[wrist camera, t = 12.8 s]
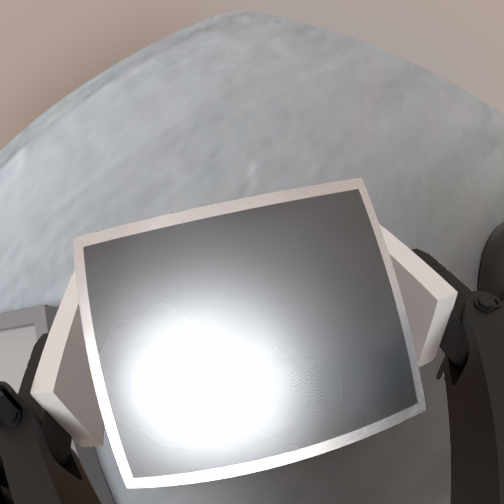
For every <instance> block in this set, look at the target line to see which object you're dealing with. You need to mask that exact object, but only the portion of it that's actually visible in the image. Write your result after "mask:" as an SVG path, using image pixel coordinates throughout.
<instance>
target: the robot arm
mask: <svg viewBox="0 0 504 504" xmlns="http://www.w3.org/2000/svg"><path fill="white" fill-rule="evenodd" d="M379 225H380V224H379ZM380 228H381V231H382V234H383V237H384V240H385V243H386V246H387V249H388V252H389V255H390V258H391V261H392V264H393V268H394V271H395V274H396V278H397V281H398V285H399V288H400V292H401V295H402V299H403V303H404V306H405V310H406V314H407V318H408V322H409V326H410V330H411V334H412V338H413V343H414V347H415V352H416V356H417V361H418V366H419V367H421V366H423V365H425V364H427V363H429V362H431V361H433V360H435V358H436V355H437V353H438V350H439V347H440V348H441V349H442V350H443V351H444V353H445V357H444V359H443V362H442V364H441V366H440V369H439V371H438V373H437V379H440V377H441V375H442V373H443V371H444V374H445V377H444V379H445V382H446V391H447V400H448V411H449V423H450V441H451V503H450V504H504V223H503V224H501V225H500V226H499V227H497V228H496V229H495V231H494V232H493V233H492V235H491V236H490V238H489V240H488V242H487V244H486V247H485V250H484V253H483V257H482V261H481V267H480V275H479V291H474V292H471V291H470V290H469V289H468V288H467V287H466V286H465V285H464V284H463V283H462V282H460V281H459V280H458V279H457V278H456V277H455V276H454V275H453V274H451V273H450V272H449V271H448V270H446V268H444V267H443V266H442V265H441V264H438V262H437V261H436V260H435V259H434V258H433V257H432V256H430V255H429V254H427V253H425V252H423V251H421V250H418V249H413V250H410V249H409V248H408V247H407V246H406V245H404V244H403V243H402V242H401V241H400V240H398V239H397V238H396V237H395V236H394V235H392V234H391V233H390V232H389V231H387V230H386V229H385V228H384V227H382V226H381V225H380ZM30 357H31V359H29V361H28V364H27V368H26V370H25V373H24V376H23V379H22V382H21V386H20V389H19V392H18V394H17V393H16V392H15V390H14V389H13V388H12V387H11V386H10V385H9V384H8V383H6V382H5V381H0V504H101V502H100V500H99V498H98V496H97V494H96V493H95V491H94V489H93V487H92V485H91V483H90V481H89V479H88V477H87V475H86V473H85V471H84V469H83V466H82V464H81V462H80V460H79V458H78V455H77V454H76V453H75V451H74V450H73V449H72V448H71V442H72V438H73V439H74V440H75V441H76V442H77V443H78V444H79V445H80V446H81V447H93V446H103V438H104V421H103V417H102V414H101V410H100V406H99V403H98V399H97V395H96V391H95V387H94V382H93V378H92V374H91V369H90V365H89V360H88V355H87V350H86V344H85V339H84V333H83V327H82V321H81V314H80V307H79V300H78V292H77V283H76V274H75V271H74V273H73V275H72V277H71V280H70V282H69V284H68V287H67V289H66V291H65V294H64V296H63V299H62V301H61V304H60V306H59V309H58V311H57V314H56V316H55V319H54V322H53V324H52V327H51V330H50V332H49V333H45V334H42V336H41V337H40V338H39V339H38V341H37V342H36V343H35V345H34V347H33V350H32V353H31V356H30Z"/></svg>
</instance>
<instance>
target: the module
mask: <svg viewBox="0 0 504 504" xmlns="http://www.w3.org/2000/svg"><path fill="white" fill-rule="evenodd" d="M73 250H74V263H75V274H76V283H77V292H78V300H79V307H80V314H81V321H82V327H83V333H84V339H85V344H86V350H87V355H88V360H89V365H90V369H91V374H92V378H93V382H94V387H95V391H96V395H97V399H98V403H99V406H100V410H101V414H102V417H103V421H104V424H105V427H106V431H107V434H108V437H109V440H110V443H111V447H112V450H113V453H114V456H115V458H116V461H117V464H118V467H119V470H120V472H121V475H122V478H123V480H124V483H125V485H126V488H127V489H133V488H151V487H164V486H175V485H184V484H192V483H199V482H206V481H212V480H218V479H224V478H230V477H235V476H240V475H245V474H249V473H254V472H258V471H263V470H267V469H271V468H275V467H279V466H283V465H286V464H290V463H293V462H297V461H300V460H304V459H307V458H310V457H313V456H317V455H320V454H323V453H326V452H329V451H332V450H335V449H337V448H340V447H343V446H346V445H348V444H351V443H354V442H356V441H359V440H361V439H364V438H366V437H369V436H371V435H374V434H376V433H378V432H381V431H383V430H385V429H388V428H390V427H392V426H394V425H397V424H399V423H401V422H403V421H405V420H407V419H409V418H411V417H413V416H415V415H417V414H419V413H421V412H423V411H425V410H426V404H425V398H424V392H423V387H422V381H421V376H420V371H419V366H418V361H417V356H416V352H415V347H414V343H413V338H412V334H411V330H410V326H409V322H408V318H407V314H406V310H405V306H404V303H403V299H402V295H401V292H400V288H399V285H398V281H397V278H396V274H395V271H394V268H393V264H392V261H391V258H390V255H389V252H388V249H387V246H386V243H385V240H384V237H383V234H382V231H381V228H380V225H379V222H378V219H377V217H376V214H375V211H374V208H373V206H372V203H371V200H370V198H369V195H368V192H367V190H366V187H365V185H364V182H363V180H362V178H356V179H349V180H343V181H337V182H330V183H324V184H318V185H312V186H306V187H301V188H295V189H289V190H284V191H278V192H273V193H268V194H262V195H257V196H252V197H247V198H242V199H237V200H232V201H227V202H222V203H217V204H212V205H208V206H203V207H198V208H194V209H189V210H185V211H180V212H176V213H171V214H167V215H163V216H158V217H154V218H150V219H145V220H141V221H137V222H133V223H129V224H125V225H121V226H117V227H113V228H109V229H105V230H101V231H97V232H93V233H90V234H86V235H82V236H78V237H75V238H73Z"/></svg>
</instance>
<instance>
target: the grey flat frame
mask: <svg viewBox="0 0 504 504" xmlns="http://www.w3.org/2000/svg"><path fill="white" fill-rule="evenodd" d="M58 309H59V308H56V307H52V306H48V305H40V306H35V307H31V308H26V309H21V310H16V311H12V312H7V313H2V314H0V381H5V382H6V383H8V384H9V385H10V386H11V387H12V388H13V389H14V390H15V392H16V393H17V394H18V392H19V389H20V386H21V382H22V379H23V376H24V373H25V370H26V368H27V364H28V361H29V359H31V357H30V356H31V353H32V350H33V347H34V345H35V343H36V342H37V341H38V339H39V338H40V337H41V336H42V334H45V333H49V332H50V330H51V327H52V324H53V322H54V319H55V316H56V314H57V311H58ZM71 448H72V449H73V450H74V451H75V453H76V454H77V455H78V458H79V460H80V462H81V464H82V466H83V469H84V471H85V473H86V475H87V477H88V479H89V481H90V483H91V485H92V487H93V489H94V491H95V493H96V494H97V496H98V498H99V500H100V502H101V504H115V501H114V499H113V497H112V494H111V492H110V490H109V487H108V485H107V482H106V479H105V477H104V474H103V472H102V469H101V466H100V463H99V461H98V458H97V455H96V452H95V449H94V446H93V447H81V446H80V445H79V444H78V443H77V442H76V441H75V440H74V439H73V438H72V442H71Z"/></svg>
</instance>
